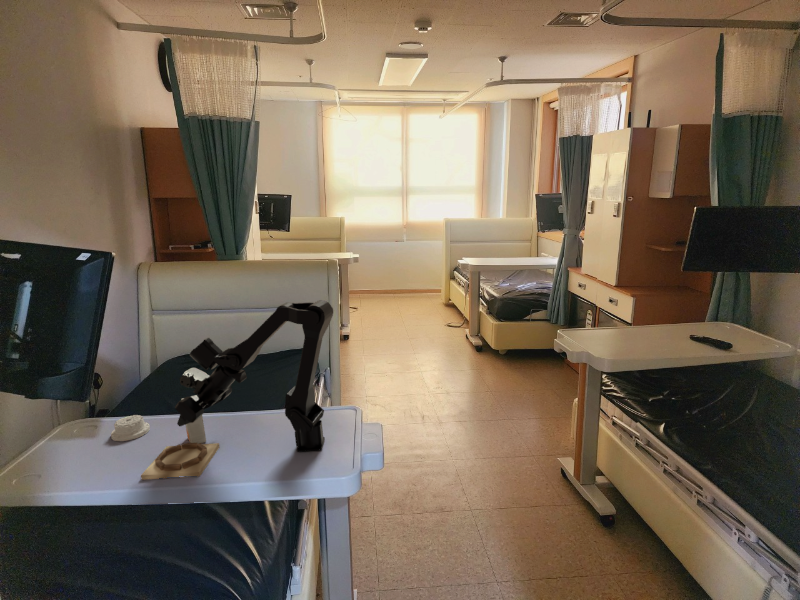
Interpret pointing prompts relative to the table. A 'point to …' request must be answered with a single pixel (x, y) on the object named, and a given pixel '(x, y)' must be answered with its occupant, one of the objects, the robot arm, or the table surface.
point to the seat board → (181, 461)
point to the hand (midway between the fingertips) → (189, 417)
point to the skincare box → (196, 429)
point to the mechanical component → (129, 428)
